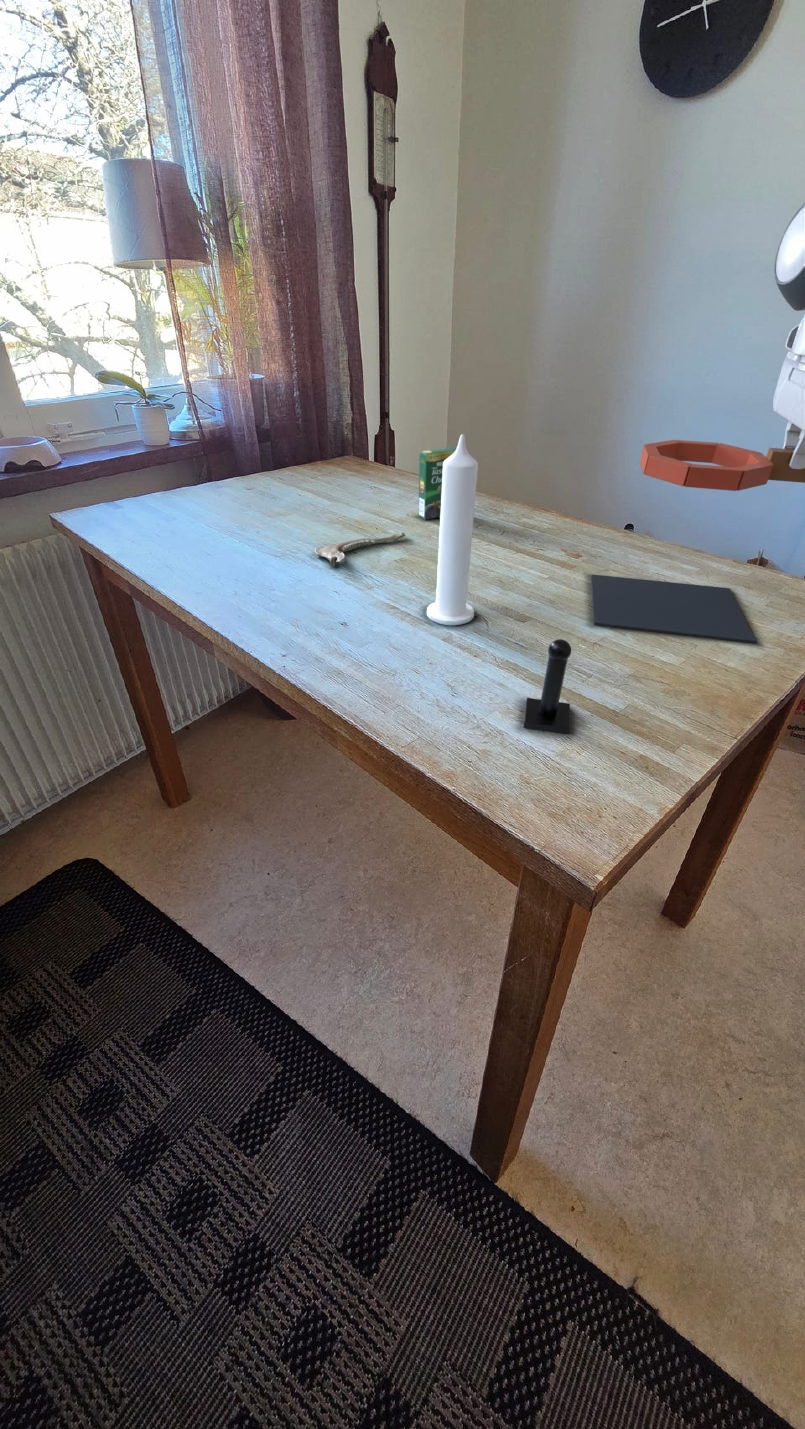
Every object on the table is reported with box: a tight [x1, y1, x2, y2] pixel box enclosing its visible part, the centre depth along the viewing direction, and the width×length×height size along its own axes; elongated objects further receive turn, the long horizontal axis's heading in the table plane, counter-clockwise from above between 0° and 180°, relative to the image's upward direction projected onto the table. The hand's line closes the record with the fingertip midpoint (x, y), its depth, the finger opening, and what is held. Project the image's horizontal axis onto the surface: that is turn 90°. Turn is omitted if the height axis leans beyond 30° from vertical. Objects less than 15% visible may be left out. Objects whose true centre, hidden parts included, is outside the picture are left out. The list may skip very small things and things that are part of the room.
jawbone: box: [313, 532, 406, 568], centre depth 110 cm, size 9×20×2 cm, turn 147°
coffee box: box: [417, 446, 457, 521], centre depth 123 cm, size 8×3×13 cm, turn 118°
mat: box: [590, 574, 757, 644], centre depth 93 cm, size 22×18×1 cm
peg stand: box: [523, 638, 572, 735], centre depth 66 cm, size 5×5×10 cm
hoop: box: [639, 439, 805, 492], centre depth 79 cm, size 21×15×4 cm
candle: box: [426, 433, 479, 626], centre depth 83 cm, size 7×7×25 cm
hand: (791, 464), depth 78 cm, fingers closed on hoop, 2 cm apart
